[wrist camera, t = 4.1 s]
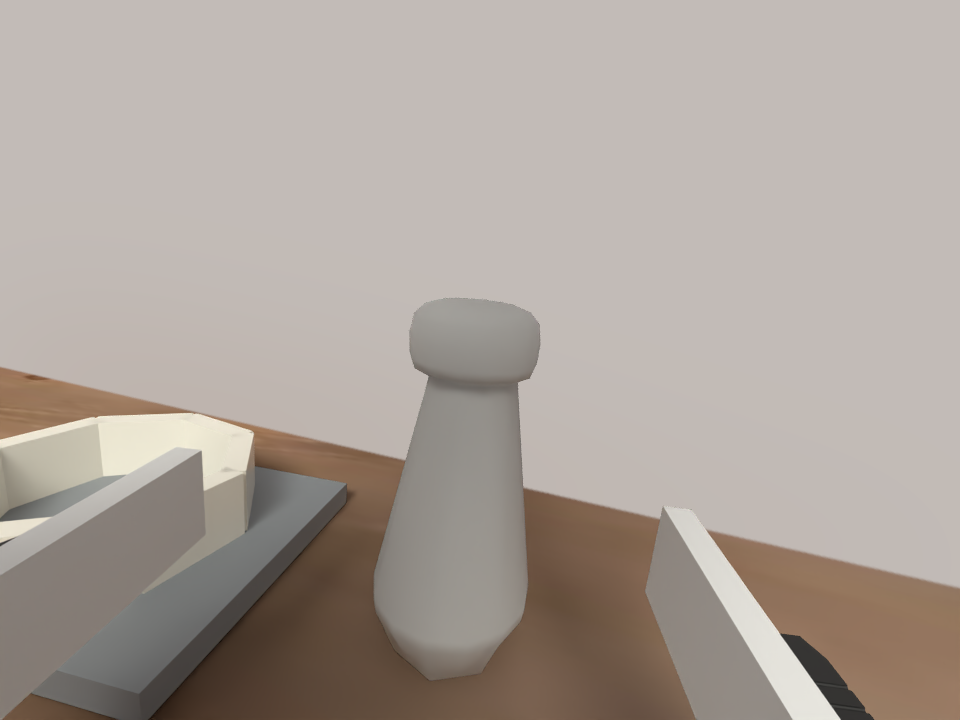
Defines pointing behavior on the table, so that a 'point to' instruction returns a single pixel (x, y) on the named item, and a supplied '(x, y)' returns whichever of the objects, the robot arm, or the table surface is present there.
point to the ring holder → (133, 468)
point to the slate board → (185, 598)
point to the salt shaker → (460, 492)
